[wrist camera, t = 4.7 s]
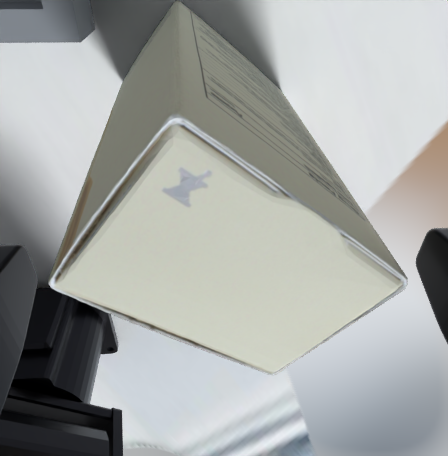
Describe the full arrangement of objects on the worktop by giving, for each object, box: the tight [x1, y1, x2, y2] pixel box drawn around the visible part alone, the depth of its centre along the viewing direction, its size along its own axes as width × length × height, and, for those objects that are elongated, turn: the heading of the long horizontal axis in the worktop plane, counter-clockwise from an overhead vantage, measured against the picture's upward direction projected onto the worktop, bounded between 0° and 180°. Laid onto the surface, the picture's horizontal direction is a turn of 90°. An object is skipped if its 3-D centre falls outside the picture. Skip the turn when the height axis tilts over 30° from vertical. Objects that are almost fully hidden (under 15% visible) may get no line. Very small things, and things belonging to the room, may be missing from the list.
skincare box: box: [48, 0, 408, 375], centre depth 12 cm, size 6×4×12 cm
